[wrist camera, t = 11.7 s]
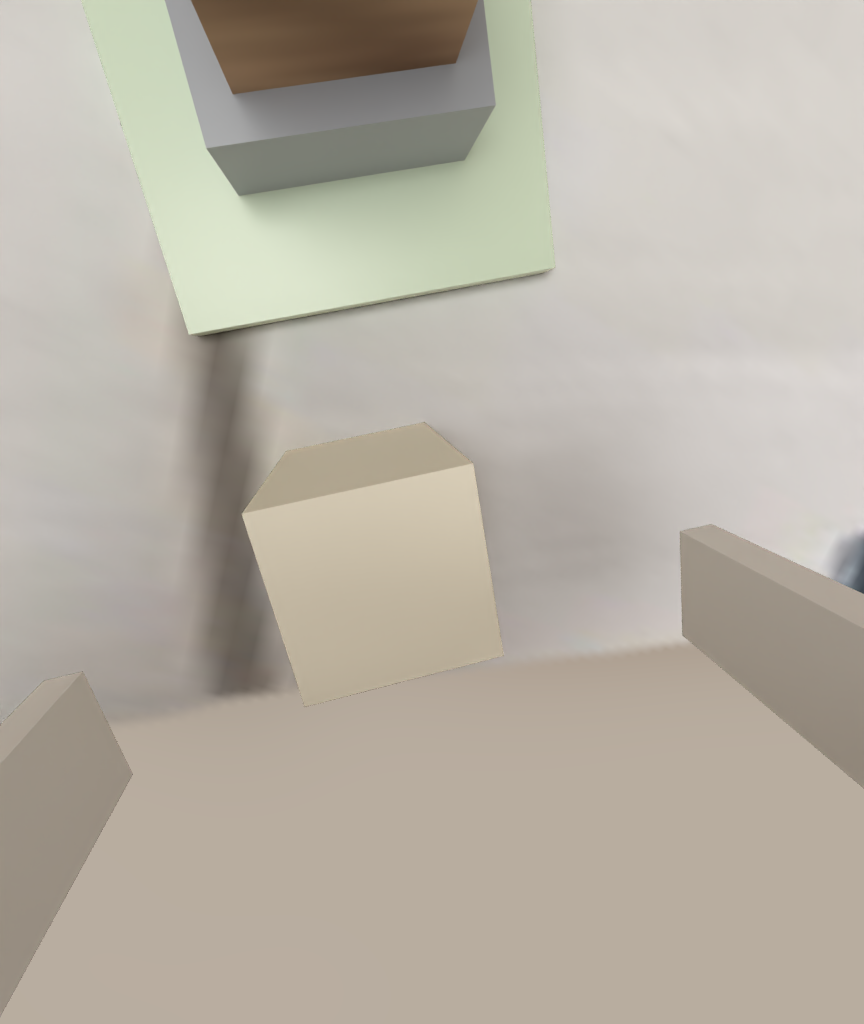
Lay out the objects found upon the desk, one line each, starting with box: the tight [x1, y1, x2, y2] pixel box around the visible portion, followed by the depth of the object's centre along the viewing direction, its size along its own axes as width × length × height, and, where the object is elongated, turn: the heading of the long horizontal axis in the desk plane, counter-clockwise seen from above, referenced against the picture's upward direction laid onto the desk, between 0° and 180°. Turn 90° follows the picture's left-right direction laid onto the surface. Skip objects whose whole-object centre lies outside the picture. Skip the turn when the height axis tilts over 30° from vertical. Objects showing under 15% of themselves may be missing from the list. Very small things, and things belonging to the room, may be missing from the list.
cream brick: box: [242, 422, 504, 707], centre depth 18 cm, size 6×6×9 cm
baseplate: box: [81, 0, 555, 336], centre depth 15 cm, size 14×16×5 cm
